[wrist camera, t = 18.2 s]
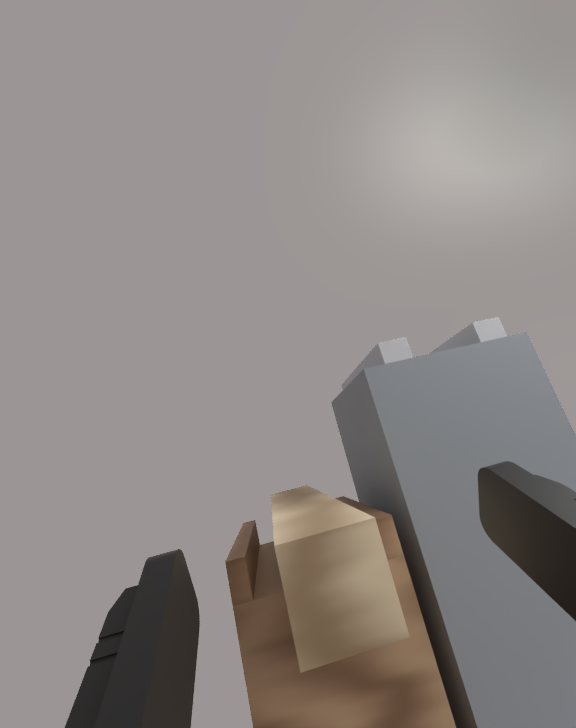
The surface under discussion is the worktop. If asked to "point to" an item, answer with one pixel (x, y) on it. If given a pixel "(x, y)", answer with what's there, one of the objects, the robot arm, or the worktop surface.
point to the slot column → (467, 512)
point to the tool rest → (340, 678)
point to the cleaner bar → (333, 578)
